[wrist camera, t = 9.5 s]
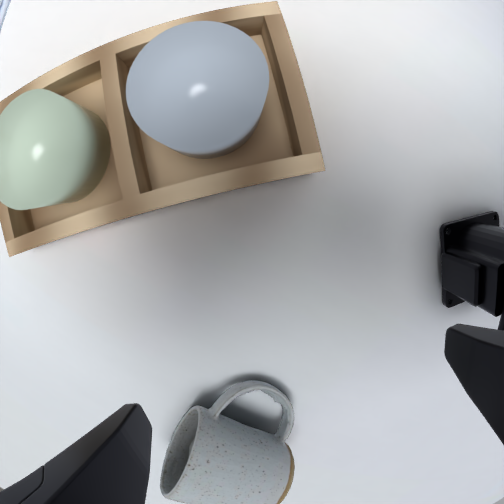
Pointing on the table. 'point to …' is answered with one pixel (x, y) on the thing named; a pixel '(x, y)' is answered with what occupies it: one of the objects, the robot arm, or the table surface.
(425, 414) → the table surface
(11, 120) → the sage green cylinder
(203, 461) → the ceramic mug
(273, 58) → the divided wooden tray
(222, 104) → the pale blue rounded cylinder
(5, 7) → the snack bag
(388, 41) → the table surface
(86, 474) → the robot arm
